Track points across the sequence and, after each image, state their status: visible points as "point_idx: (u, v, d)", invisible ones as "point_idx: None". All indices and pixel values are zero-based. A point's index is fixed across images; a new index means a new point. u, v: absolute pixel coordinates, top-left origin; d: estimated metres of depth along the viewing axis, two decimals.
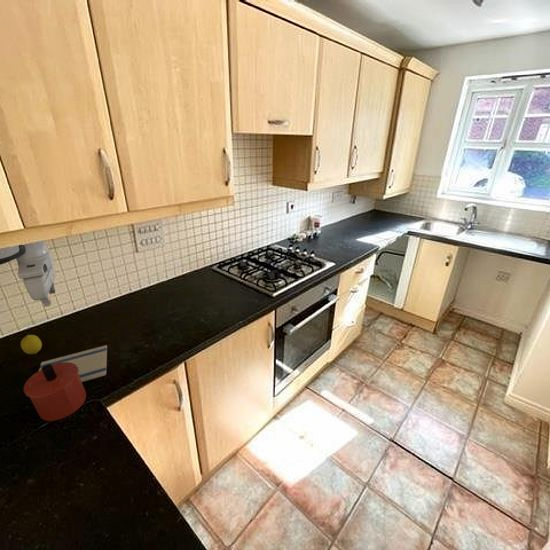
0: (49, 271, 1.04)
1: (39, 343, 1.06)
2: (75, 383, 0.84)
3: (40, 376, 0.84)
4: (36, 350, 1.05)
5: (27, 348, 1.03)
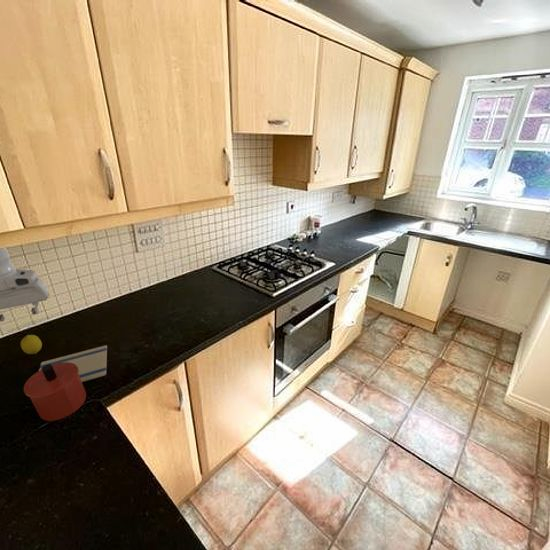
0: None
1: (39, 343, 1.06)
2: (75, 383, 0.84)
3: (40, 376, 0.84)
4: (36, 350, 1.05)
5: (27, 348, 1.03)
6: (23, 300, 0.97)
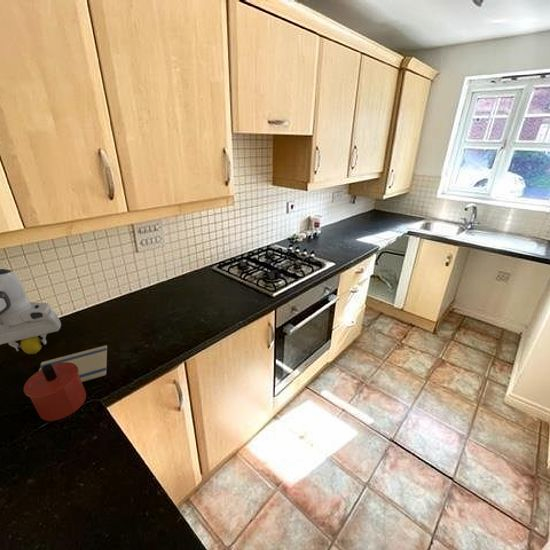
0: None
1: (39, 343, 1.06)
2: (75, 383, 0.84)
3: (40, 376, 0.84)
4: (36, 350, 1.05)
5: (26, 348, 1.03)
6: (37, 332, 1.03)
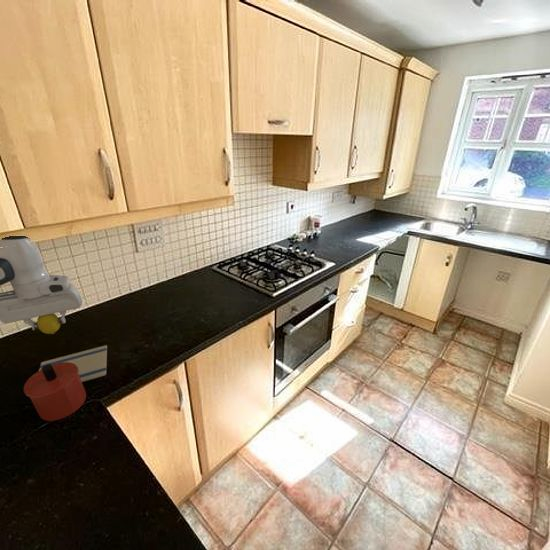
0: None
1: (57, 321, 0.93)
2: (75, 383, 0.84)
3: (40, 376, 0.84)
4: (54, 329, 0.93)
5: (44, 326, 0.91)
6: (56, 308, 0.91)
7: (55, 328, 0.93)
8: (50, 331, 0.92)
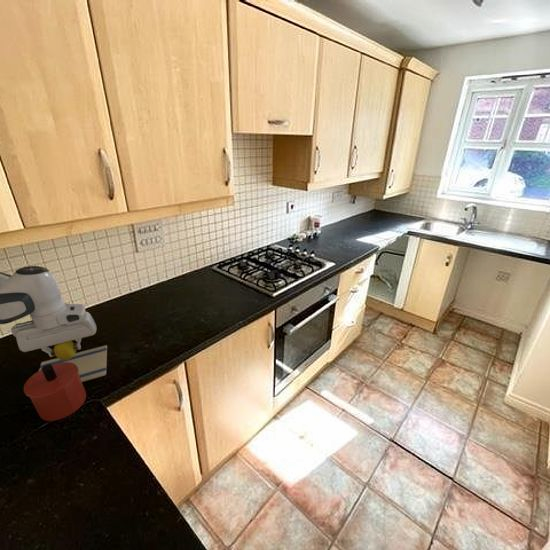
0: None
1: (73, 348, 0.97)
2: (75, 383, 0.84)
3: (40, 376, 0.84)
4: (70, 356, 0.96)
5: (61, 354, 0.94)
6: (72, 336, 0.94)
7: (71, 355, 0.96)
8: (66, 358, 0.95)
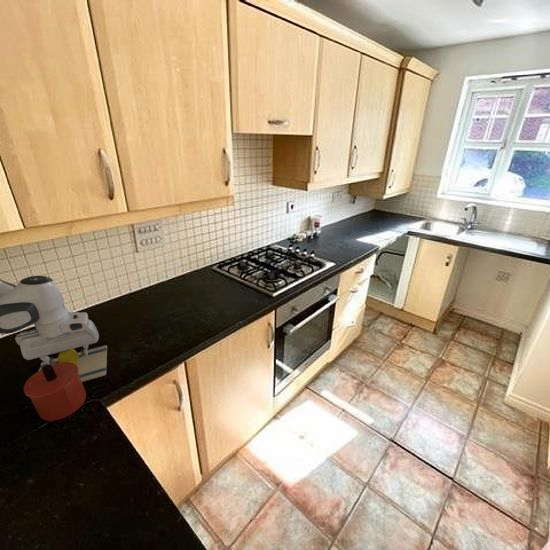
0: None
1: (77, 357, 0.98)
2: (75, 383, 0.84)
3: (40, 376, 0.84)
4: None
5: None
6: (75, 344, 0.95)
7: (74, 363, 0.98)
8: None
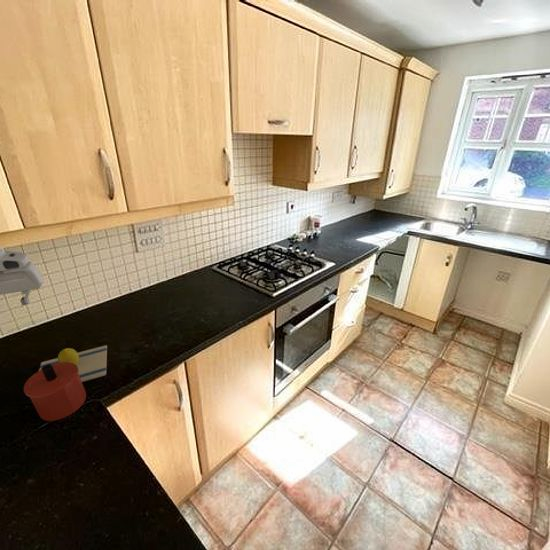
0: None
1: (77, 357, 0.98)
2: (75, 383, 0.84)
3: (40, 376, 0.84)
4: None
5: None
6: (11, 287, 0.82)
7: (74, 363, 0.98)
8: None
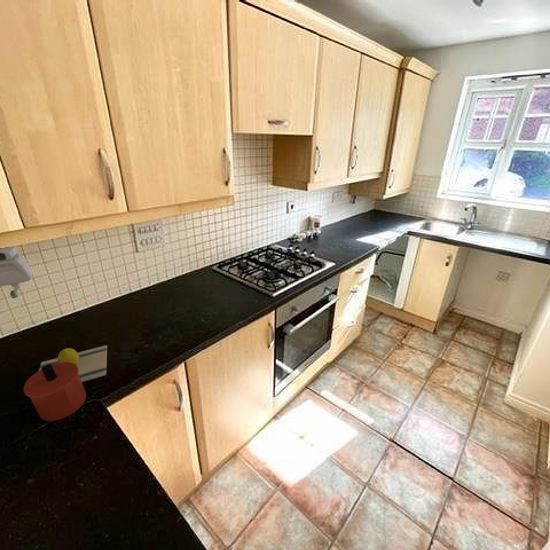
0: None
1: (77, 357, 0.98)
2: (75, 383, 0.84)
3: (40, 376, 0.84)
4: None
5: None
6: (0, 280, 0.81)
7: (74, 363, 0.98)
8: None
